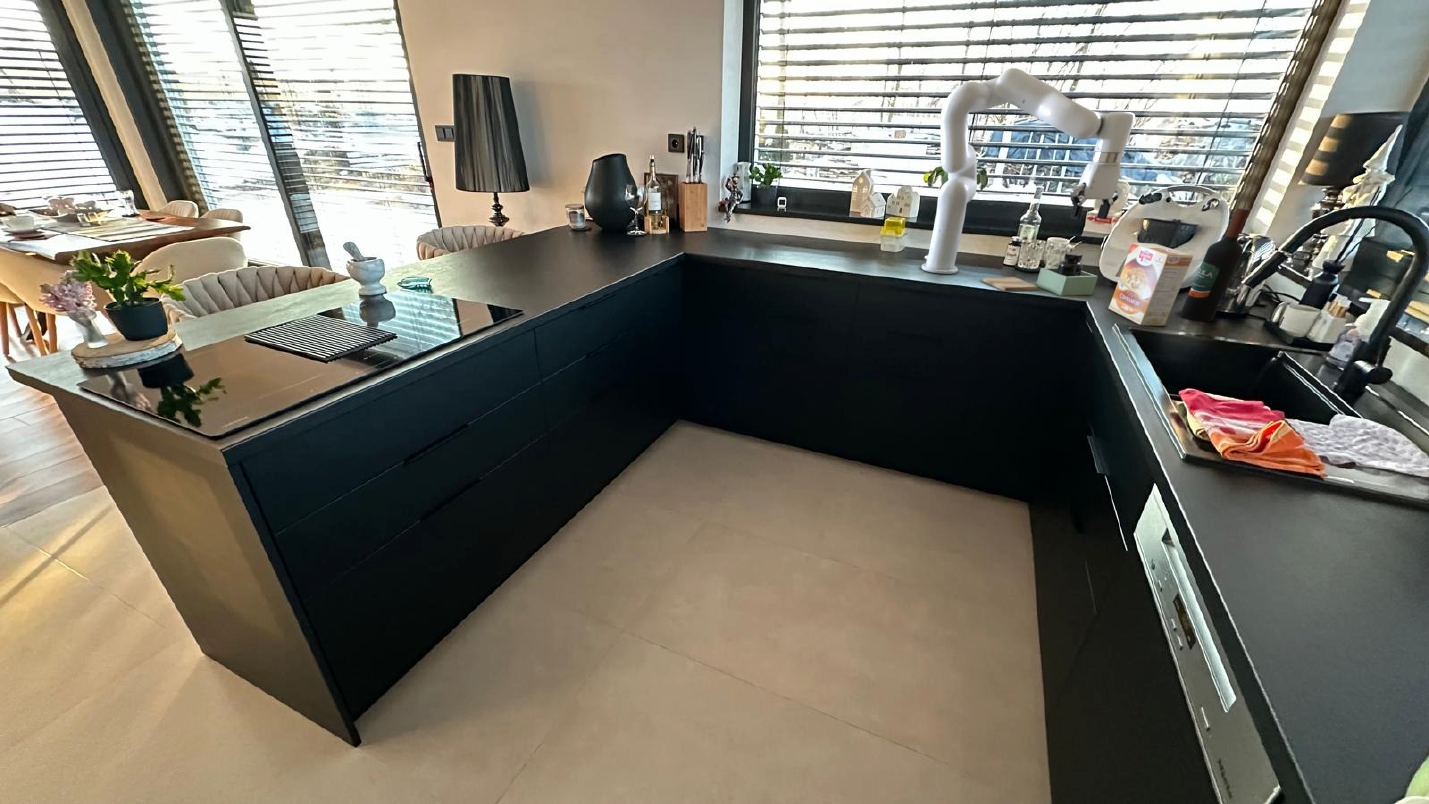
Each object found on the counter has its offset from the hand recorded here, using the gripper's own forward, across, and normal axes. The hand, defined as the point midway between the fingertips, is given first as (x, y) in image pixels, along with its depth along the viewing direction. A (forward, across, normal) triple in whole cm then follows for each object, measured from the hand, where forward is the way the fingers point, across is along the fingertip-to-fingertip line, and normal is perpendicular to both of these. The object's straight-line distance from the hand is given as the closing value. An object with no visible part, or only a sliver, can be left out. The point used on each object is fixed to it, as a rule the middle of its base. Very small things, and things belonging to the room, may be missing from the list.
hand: (1087, 218), depth 173 cm
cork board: (+23, +15, -8) cm, 28 cm away
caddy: (+23, 0, -1) cm, 23 cm away
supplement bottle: (+23, 0, -1) cm, 23 cm away
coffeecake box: (+23, 0, +27) cm, 36 cm away
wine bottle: (+23, -19, +29) cm, 42 cm away
